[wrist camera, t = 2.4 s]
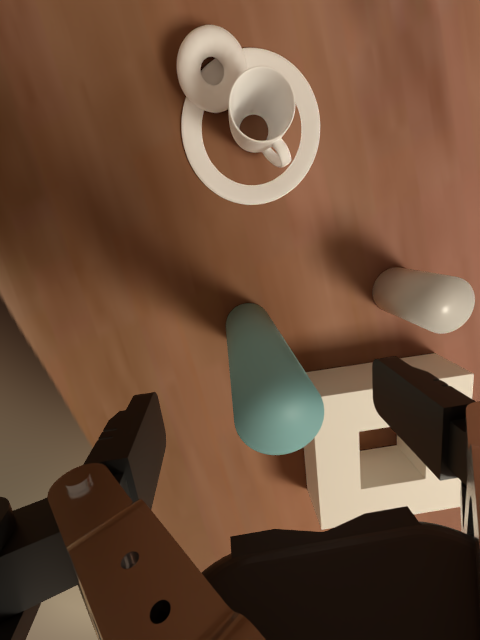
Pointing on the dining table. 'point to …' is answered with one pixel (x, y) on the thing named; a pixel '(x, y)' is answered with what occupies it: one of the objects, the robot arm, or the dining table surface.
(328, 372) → the hole block
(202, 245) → the dining table surface
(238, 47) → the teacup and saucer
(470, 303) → the short pin
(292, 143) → the dining table surface
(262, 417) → the long pin
